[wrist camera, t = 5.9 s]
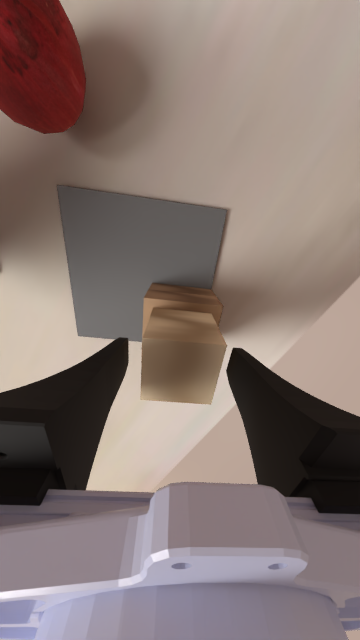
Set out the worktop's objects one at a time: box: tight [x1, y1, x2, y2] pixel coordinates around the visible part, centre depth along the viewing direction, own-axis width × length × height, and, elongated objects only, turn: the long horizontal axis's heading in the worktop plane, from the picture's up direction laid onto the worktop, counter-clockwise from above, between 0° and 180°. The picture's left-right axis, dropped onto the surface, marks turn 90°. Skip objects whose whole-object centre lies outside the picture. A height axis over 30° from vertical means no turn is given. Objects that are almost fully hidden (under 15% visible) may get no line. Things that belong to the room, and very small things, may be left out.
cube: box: [141, 308, 227, 404], centre depth 12 cm, size 4×4×4 cm
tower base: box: [149, 283, 216, 297], centre depth 18 cm, size 6×6×2 cm
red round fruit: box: [0, 0, 86, 134], centre depth 9 cm, size 6×6×8 cm
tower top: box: [141, 289, 223, 363], centre depth 15 cm, size 6×6×2 cm
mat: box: [57, 185, 227, 342], centre depth 17 cm, size 14×14×1 cm
